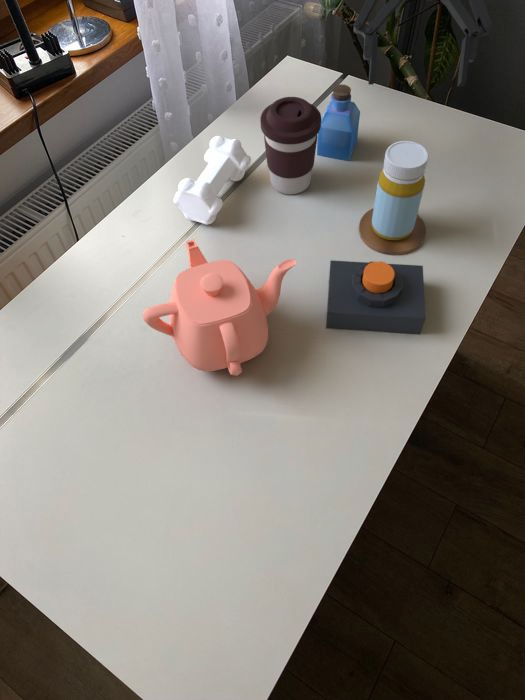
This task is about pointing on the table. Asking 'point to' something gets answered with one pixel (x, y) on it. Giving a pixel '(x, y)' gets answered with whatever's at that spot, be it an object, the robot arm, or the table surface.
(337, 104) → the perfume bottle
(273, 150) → the coffee cup
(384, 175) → the bottle
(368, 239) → the coaster
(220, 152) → the bone shaped toy
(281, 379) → the table surface
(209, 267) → the teapot
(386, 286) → the orange push button
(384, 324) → the push button box
